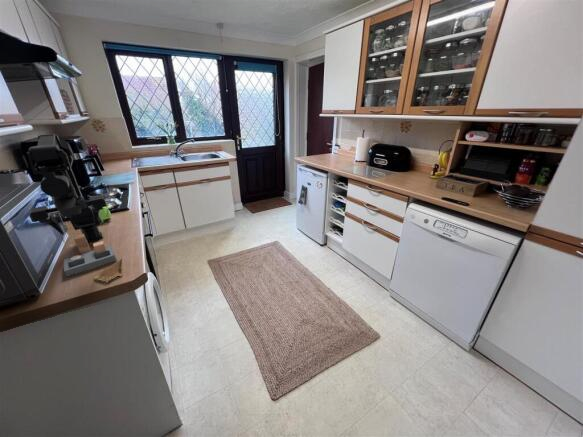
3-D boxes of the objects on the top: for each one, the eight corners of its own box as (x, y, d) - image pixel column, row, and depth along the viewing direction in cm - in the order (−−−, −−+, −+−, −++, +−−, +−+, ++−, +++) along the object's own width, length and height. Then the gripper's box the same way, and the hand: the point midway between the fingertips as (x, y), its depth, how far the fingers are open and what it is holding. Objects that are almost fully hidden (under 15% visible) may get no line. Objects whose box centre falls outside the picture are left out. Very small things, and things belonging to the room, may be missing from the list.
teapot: (116, 220, 120) (110, 204, 117) (87, 227, 113) (80, 211, 110) (112, 213, 128) (106, 199, 124) (85, 220, 121) (78, 205, 117)
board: (67, 265, 86) (60, 252, 84) (113, 250, 95) (108, 238, 92) (67, 277, 80) (60, 263, 78) (116, 260, 88) (111, 248, 86)
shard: (123, 261, 89) (121, 258, 88) (139, 265, 87) (137, 261, 86) (93, 280, 79) (91, 276, 78) (111, 284, 77) (109, 280, 76)
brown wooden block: (81, 254, 93) (73, 236, 89) (91, 251, 94) (83, 233, 91) (82, 257, 91) (73, 239, 87) (92, 254, 92) (84, 236, 89)
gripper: (16, 202, 64) (43, 249, 72) (100, 187, 76) (116, 229, 83) (20, 191, 72) (44, 235, 79) (96, 179, 83) (111, 218, 90)
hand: (80, 229), depth 82 cm, fingers open, 9 cm apart
